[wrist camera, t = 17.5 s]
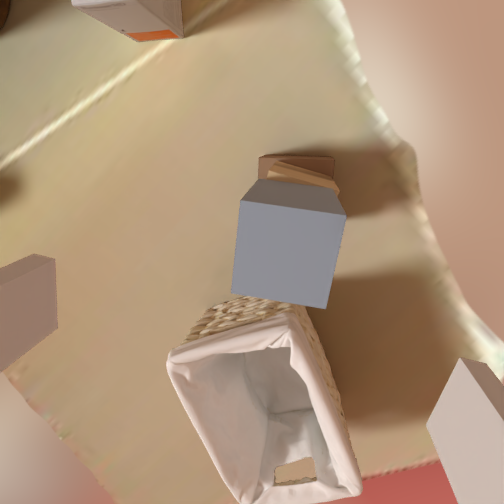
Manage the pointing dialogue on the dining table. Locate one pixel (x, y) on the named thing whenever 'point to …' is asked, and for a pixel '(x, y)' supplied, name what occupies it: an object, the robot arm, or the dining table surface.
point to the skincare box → (137, 17)
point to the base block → (297, 164)
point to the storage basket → (265, 402)
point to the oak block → (300, 176)
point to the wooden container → (4, 11)
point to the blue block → (287, 242)
